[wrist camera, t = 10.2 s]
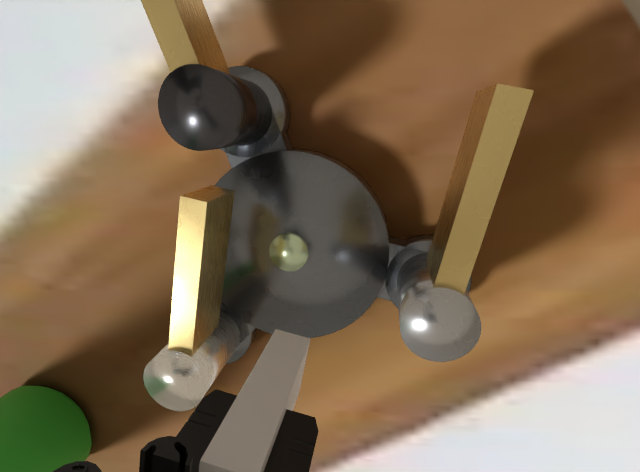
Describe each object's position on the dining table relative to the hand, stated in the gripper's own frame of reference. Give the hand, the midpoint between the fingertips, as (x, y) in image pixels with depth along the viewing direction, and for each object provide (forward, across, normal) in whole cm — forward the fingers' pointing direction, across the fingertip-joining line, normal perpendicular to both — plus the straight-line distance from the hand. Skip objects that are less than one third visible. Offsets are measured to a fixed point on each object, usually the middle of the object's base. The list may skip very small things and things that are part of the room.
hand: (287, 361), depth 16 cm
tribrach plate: (+10, 0, +2) cm, 10 cm away
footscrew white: (+8, -7, -1) cm, 11 cm away
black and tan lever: (+8, -9, +13) cm, 18 cm away
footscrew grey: (+8, +6, +6) cm, 12 cm away
